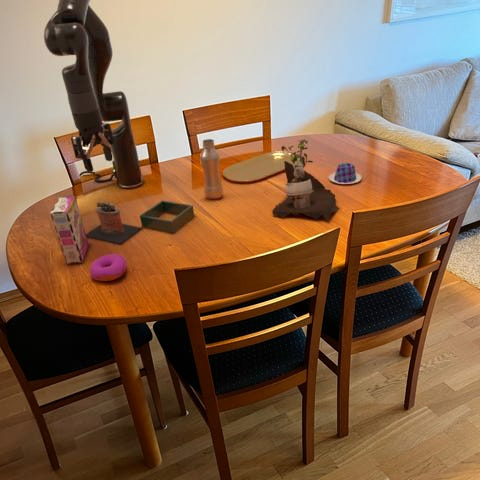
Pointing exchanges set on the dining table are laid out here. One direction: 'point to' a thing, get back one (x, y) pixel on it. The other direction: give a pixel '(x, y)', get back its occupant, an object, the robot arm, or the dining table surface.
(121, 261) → the donut
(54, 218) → the candy bar box
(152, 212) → the frame
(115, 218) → the lighter
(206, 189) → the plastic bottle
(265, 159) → the serving platter
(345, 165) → the purple patterned hat
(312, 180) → the potted plant
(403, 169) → the dining table surface
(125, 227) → the mat
